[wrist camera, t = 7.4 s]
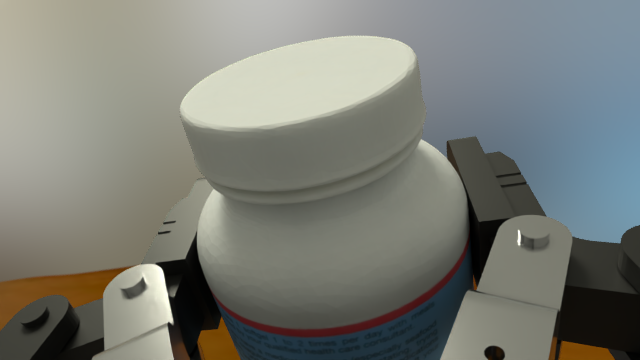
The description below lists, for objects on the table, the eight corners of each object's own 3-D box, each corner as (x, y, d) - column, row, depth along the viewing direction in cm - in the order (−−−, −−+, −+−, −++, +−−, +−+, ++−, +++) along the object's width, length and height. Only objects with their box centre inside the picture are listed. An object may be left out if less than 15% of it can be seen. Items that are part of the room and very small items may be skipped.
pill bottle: (527, 471, 13) (545, 69, 7) (311, 569, 12) (126, 204, 6) (422, 313, 18) (382, 7, 12) (266, 374, 17) (142, 75, 11)
